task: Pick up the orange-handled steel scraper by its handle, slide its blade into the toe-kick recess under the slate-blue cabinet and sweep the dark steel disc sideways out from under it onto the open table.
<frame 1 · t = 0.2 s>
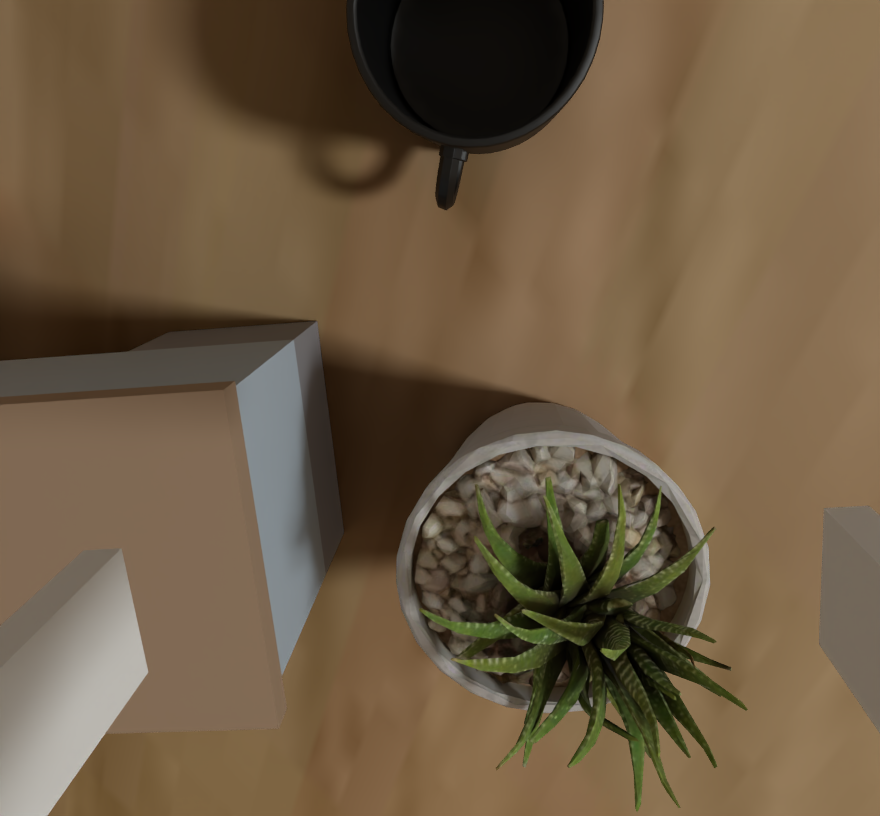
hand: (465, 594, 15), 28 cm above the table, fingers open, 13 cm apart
cabinet: (179, 440, 45), on the table
mug: (473, 78, 39), on the table
potted plant: (539, 487, 44), on the table
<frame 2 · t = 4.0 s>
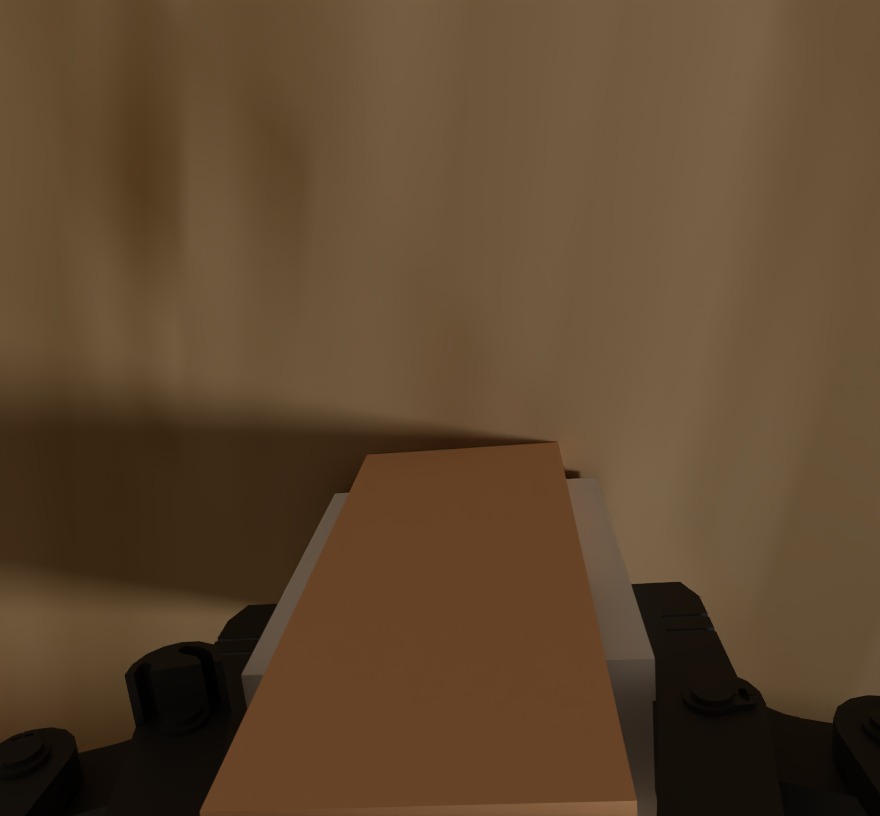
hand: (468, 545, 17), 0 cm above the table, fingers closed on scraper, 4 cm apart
scraper: (469, 536, 17), on the table, touching gripper
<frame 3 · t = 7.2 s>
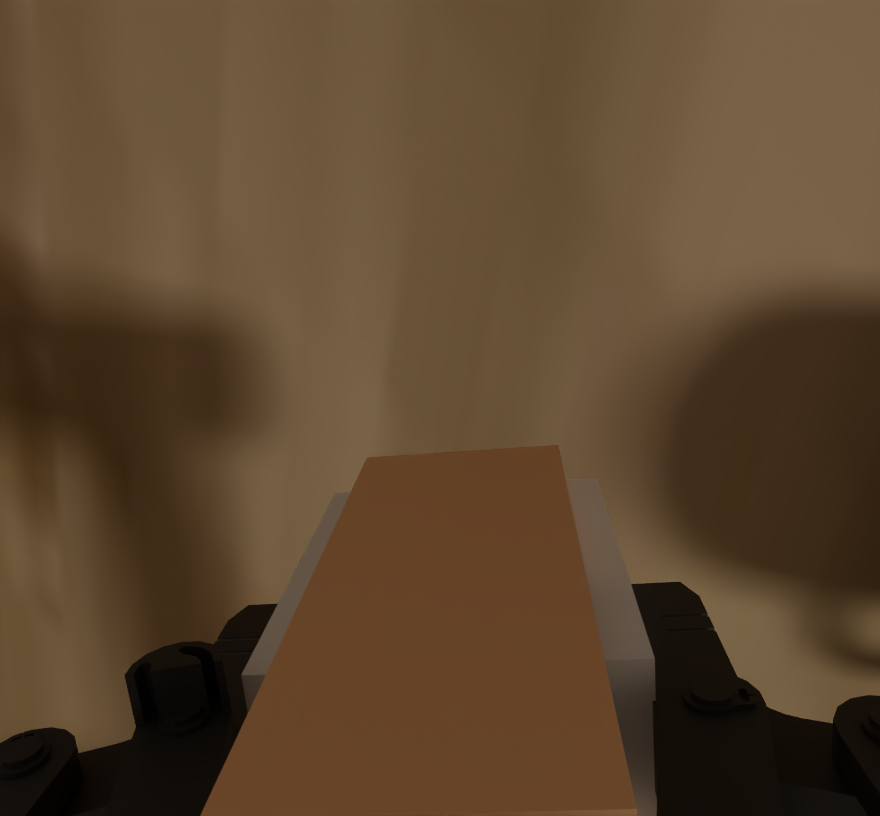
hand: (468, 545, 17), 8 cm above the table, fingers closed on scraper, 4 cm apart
scraper: (469, 539, 17), point 8 cm above the table, touching gripper
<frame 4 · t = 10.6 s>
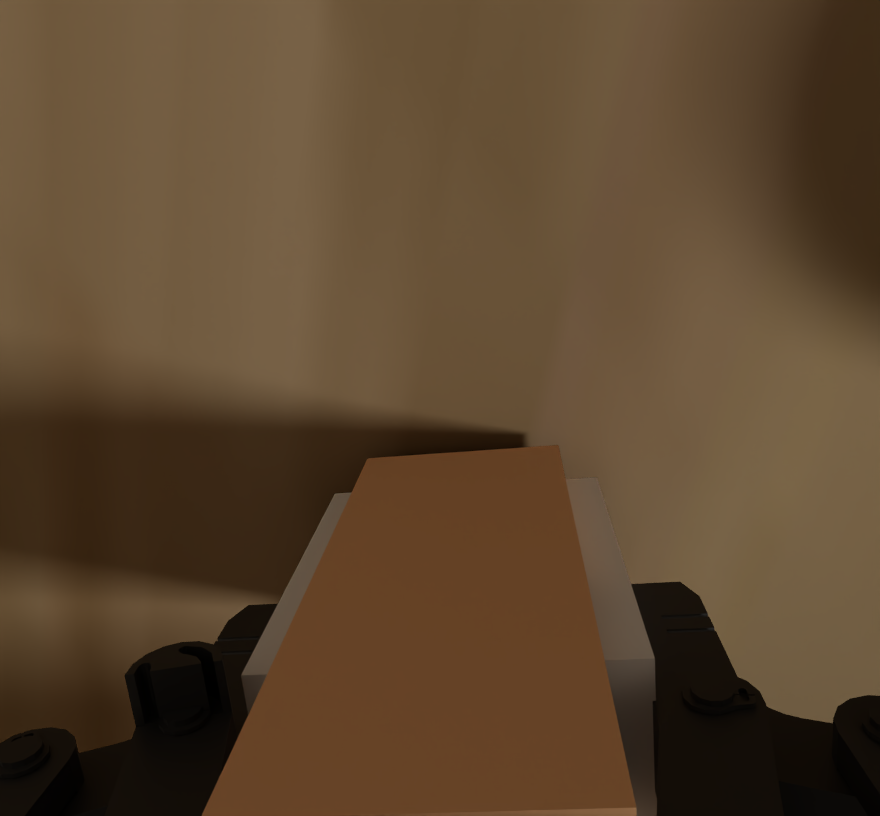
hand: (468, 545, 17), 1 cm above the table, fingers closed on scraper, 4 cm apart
scraper: (470, 539, 17), point 1 cm above the table, touching gripper, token
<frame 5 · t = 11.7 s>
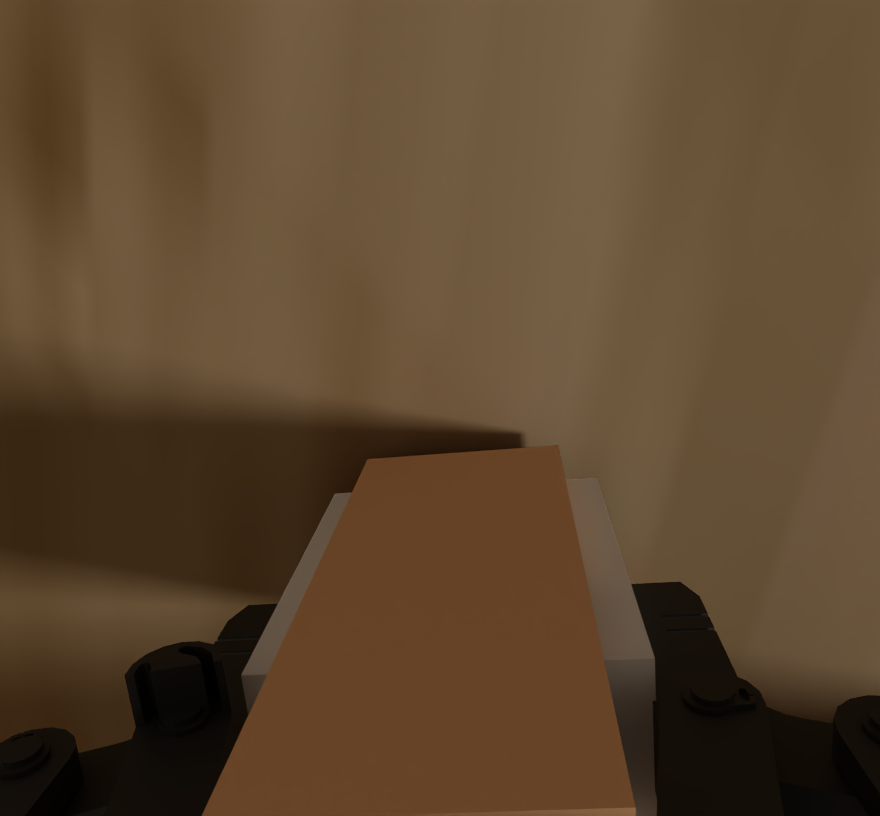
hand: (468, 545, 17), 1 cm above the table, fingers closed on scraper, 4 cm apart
scraper: (470, 539, 17), point 1 cm above the table, touching gripper
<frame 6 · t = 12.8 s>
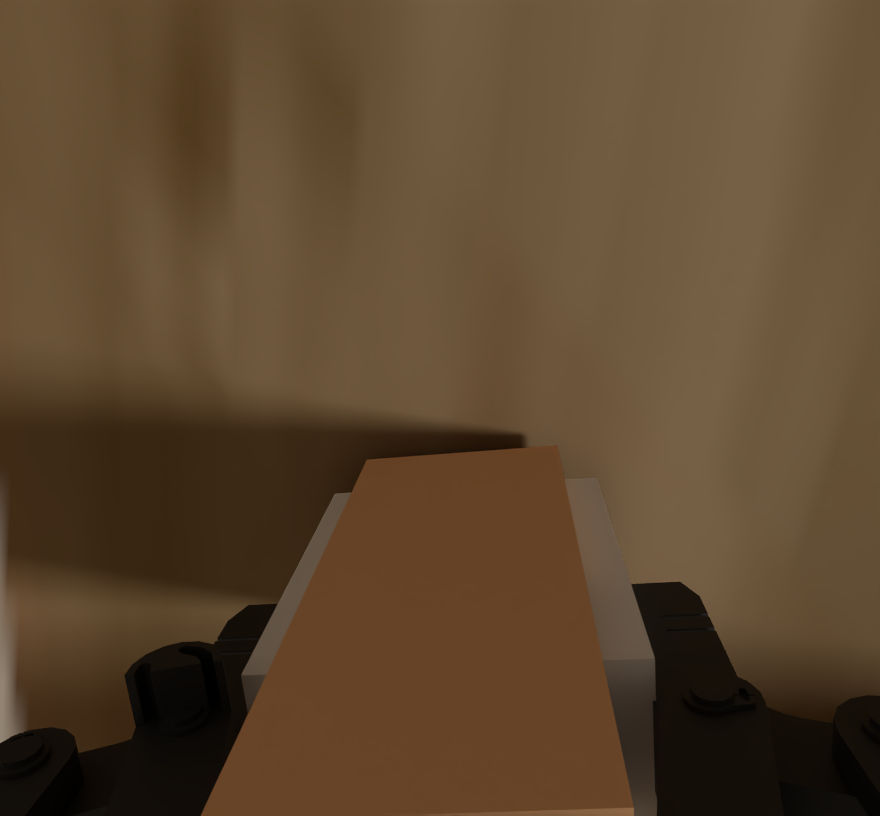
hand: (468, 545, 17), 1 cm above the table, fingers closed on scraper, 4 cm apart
scraper: (469, 540, 17), point 1 cm above the table, touching gripper
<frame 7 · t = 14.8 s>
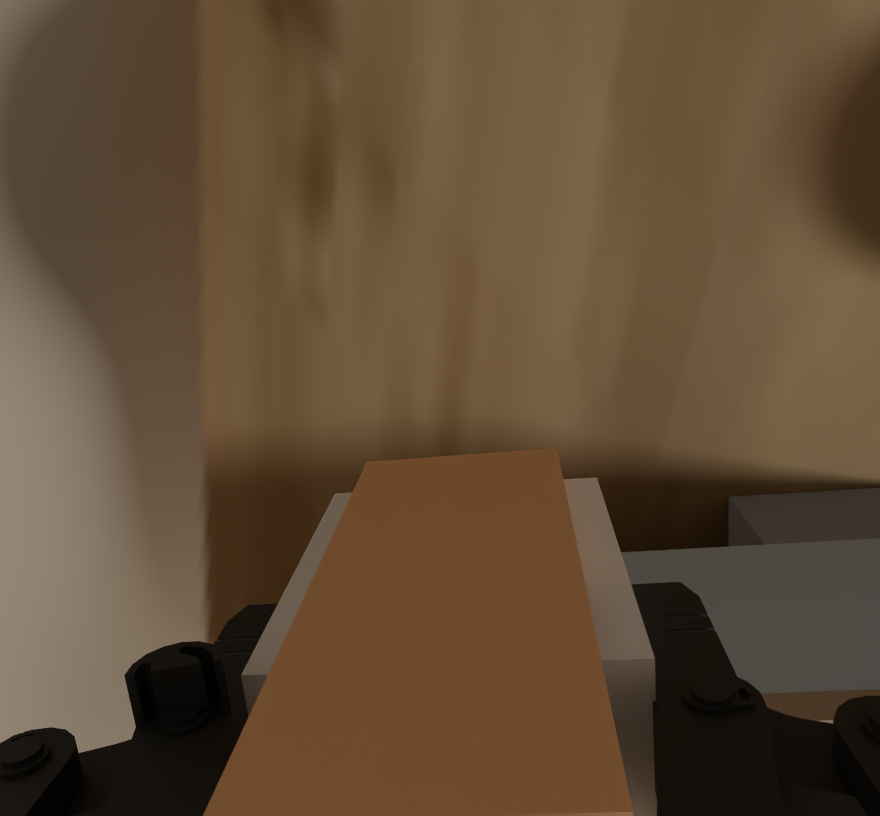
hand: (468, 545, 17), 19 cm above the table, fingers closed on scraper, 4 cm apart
scraper: (469, 542, 18), point 18 cm above the table, touching gripper
cabinet: (717, 617, 38), on the table
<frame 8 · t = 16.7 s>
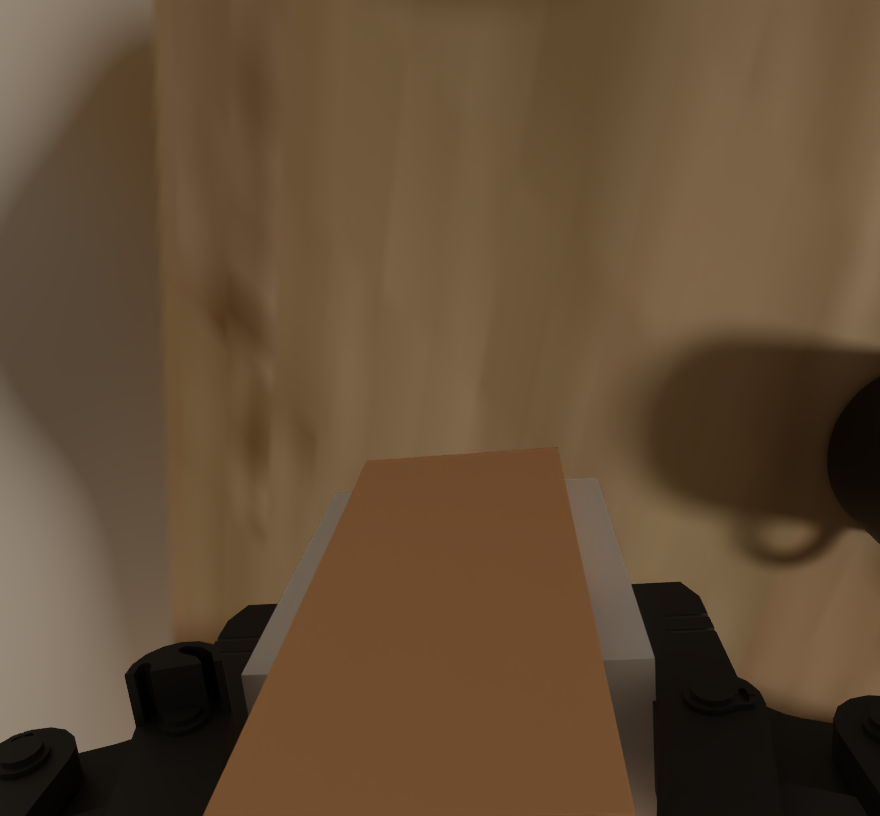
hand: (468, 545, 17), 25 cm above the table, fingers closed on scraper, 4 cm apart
scraper: (469, 541, 17), point 24 cm above the table, touching gripper
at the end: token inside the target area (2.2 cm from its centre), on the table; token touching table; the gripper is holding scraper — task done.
